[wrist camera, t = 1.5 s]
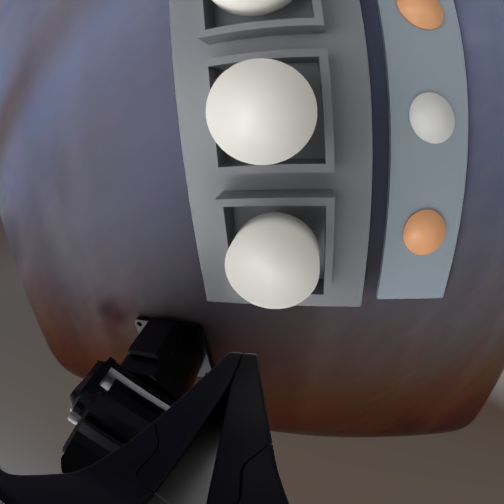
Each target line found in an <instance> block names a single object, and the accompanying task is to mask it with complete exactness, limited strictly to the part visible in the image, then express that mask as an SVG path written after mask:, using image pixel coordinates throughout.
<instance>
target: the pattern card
mask: <svg viewBox="0 0 504 504" xmlns="http://www.w3.org/2000/svg"><path fill="white" fill-rule="evenodd" d="M376 5H377V10H378V16H379V22H380V28H381V35H382V42H383V50H384V59H385V70H386V81H387V97H388V121H389V164H388V190H387V206H386V219H385V230H384V240H383V248H382V257H381V264H380V272H379V278H378V285H377V291H376V297H377V299H419V298H443V295H444V291H445V288H446V284H447V280H448V276H449V272H450V268H451V264H452V260H453V255H454V251H455V246H456V241H457V236H458V231H459V225H460V219H461V213H462V206H463V198H464V190H465V180H466V169H467V154H468V95H467V80H466V69H465V60H464V52H463V45H462V39H461V33H460V28H459V23H458V18H457V13H456V9H455V5H454V1H453V0H376Z"/></svg>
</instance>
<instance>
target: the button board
mask: <svg viewBox="0 0 504 504" xmlns="http://www.w3.org/2000/svg"><path fill="white" fill-rule="evenodd" d="M169 12H170V30H171V45H172V58H173V70H174V81H175V92H176V102H177V111H178V120H179V128H180V137H181V145H182V152H183V160H184V167H185V174H186V181H187V188H188V195H189V201H190V208H191V214H192V220H193V226H194V232H195V238H196V244H197V249H198V255H199V260H200V266H201V271H202V276H203V282H204V287H205V292H206V297H207V301H212V302H228V303H246V304H252V303H250V302H248V301H246V300H245V299H243V298H242V297H241V296H240V295H239V294H238V293H237V292H236V291H235V290H234V289H233V287H232V286H231V285H230V283H229V281H228V278H227V276H226V272H225V257H226V253H227V251H228V248H229V247H230V245H231V243H232V241H233V240H234V238H235V236H236V235H237V233H238V231H239V230H240V228H241V227H242V226H243V225H244V224H245V223H246V222H247V221H248V220H249V219H251V218H253V217H255V216H256V215H259V214H262V213H267V212H282V213H286V214H290V215H292V216H295V217H297V218H298V219H300V220H302V221H303V222H304V223H305V224H307V225H308V227H309V228H310V229H311V230H312V231H313V233H314V235H315V236H316V239H317V241H318V245H319V256H320V274H319V279H318V283H317V285H316V287H315V289H314V291H313V292H312V293H311V294H310V296H309V297H307V298H306V299H305V300H304V301H302V302H301V303H299V304H297V305H295V306H351V307H361V301H362V294H363V287H364V279H365V271H366V262H367V252H368V241H369V229H370V215H371V196H372V156H373V147H372V108H371V90H370V77H369V66H368V56H367V47H366V39H365V32H364V25H363V18H362V12H361V6H360V1H359V0H292V1H291V2H290V3H289V4H287V5H286V6H285V7H283V8H281V9H279V10H277V11H275V12H272V13H269V14H265V15H260V16H240V15H235V14H232V13H229V12H227V11H225V10H223V9H221V8H220V7H218V6H217V5H216V4H215V3H214V2H213V1H212V0H169ZM255 58H266V59H273V60H277V61H280V62H283V63H285V64H287V65H289V66H291V67H293V68H294V69H296V70H297V71H298V72H299V73H300V74H301V75H302V76H303V77H304V78H305V79H306V80H307V81H308V83H309V85H310V86H311V88H312V90H313V92H314V95H315V98H316V102H317V122H316V126H315V129H314V132H313V134H312V136H311V138H310V139H309V141H308V143H307V144H306V145H305V146H304V147H303V148H302V149H301V150H300V151H299V152H298V153H297V154H295V155H294V156H292V157H291V158H289V159H287V160H285V161H282V162H279V163H276V164H271V165H254V164H248V163H245V162H242V161H239V160H237V159H235V158H233V157H231V156H230V155H228V154H227V153H226V152H224V151H223V150H222V149H221V148H220V147H219V145H218V144H217V143H216V142H215V140H214V139H213V137H212V135H211V133H210V131H209V128H208V125H207V120H206V102H207V98H208V95H209V92H210V89H211V88H212V86H213V84H214V83H215V81H216V80H217V78H218V77H219V76H220V75H221V74H222V73H223V72H224V71H226V70H227V69H228V68H230V67H231V66H233V65H235V64H237V63H239V62H242V61H245V60H249V59H255Z"/></svg>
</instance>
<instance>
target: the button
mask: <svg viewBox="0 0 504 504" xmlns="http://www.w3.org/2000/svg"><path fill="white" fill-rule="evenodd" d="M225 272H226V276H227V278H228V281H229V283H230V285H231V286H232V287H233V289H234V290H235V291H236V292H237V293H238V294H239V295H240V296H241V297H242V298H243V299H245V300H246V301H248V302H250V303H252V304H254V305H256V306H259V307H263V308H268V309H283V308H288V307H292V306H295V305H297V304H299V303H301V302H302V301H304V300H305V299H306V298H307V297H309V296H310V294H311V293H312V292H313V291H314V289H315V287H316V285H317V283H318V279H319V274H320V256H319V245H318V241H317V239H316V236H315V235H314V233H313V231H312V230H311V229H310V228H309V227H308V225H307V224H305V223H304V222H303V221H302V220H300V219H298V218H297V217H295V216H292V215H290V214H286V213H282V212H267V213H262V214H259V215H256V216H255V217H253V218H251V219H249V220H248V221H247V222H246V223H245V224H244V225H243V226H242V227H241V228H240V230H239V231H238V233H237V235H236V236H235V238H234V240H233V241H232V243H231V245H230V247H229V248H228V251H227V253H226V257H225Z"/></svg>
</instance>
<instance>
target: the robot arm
mask: <svg viewBox="0 0 504 504" xmlns="http://www.w3.org/2000/svg"><path fill="white" fill-rule="evenodd" d="M135 325H136V327H137V330H138V332H139V335H138V336H137V338H136V339H135V341H134V342H133V343H132V345H131V346H130V348H129V349H128V355H127V356H126V358H125V359H124V361H123V362H122V364H121V365H119V364H118V363H117V362H116V360H114V359H113V358H112V357H110V358H109V359H108V360H107V362H103V361H98V362H97V363H96V364H95V366H94V367H93V368H92V370H91V371H90V372H89V374H88V375H87V376H86V377H85V378H84V379H83V381H82V382H81V383H80V384H79V385H78V386H77V387H76V388H75V389H74V391H73V392H72V393H71V395H70V401H71V404H72V407H71V409H70V411H71V413H70V415H69V417H68V420H69V421H70V422H72V423H73V424H75V425H76V426H75V428H74V430H73V432H72V433H71V435H70V436H69V438H68V440H67V441H66V443H65V445H64V447H63V449H62V453H63V456H62V458H61V468H62V473H63V474H49V475H13V474H11V473H9V472H8V471H7V470H5V469H4V468H3V467H1V466H0V504H289V502H288V499H287V497H286V494H285V491H284V488H283V486H282V482H281V479H280V476H279V473H278V469H277V465H276V460H275V456H274V450H273V445H272V439H271V434H270V428H269V422H268V416H267V410H266V404H265V398H264V393H263V387H262V381H261V375H260V368H259V362H258V356H257V354H253V353H244V354H243V353H241V352H229V353H228V354H227V355H226V356H225V357H224V358H223V359H222V360H221V361H220V362H219V363H218V364H217V365H216V366H215V367H212V363H211V359H210V355H209V351H208V348H207V344H206V340H205V336H204V331H203V328H202V327H201V326H200V325H199V324H194V323H185V322H176V321H167V320H159V319H151V318H144V317H138V318H137V319H136V320H135ZM195 329H196V330H195ZM197 330H198V331H197ZM197 376H200V377H203V378H202V379H201V380H200V381H198V382H197V383H196V384H195V385H194V382H195V380H196V378H197ZM193 385H194V386H193Z"/></svg>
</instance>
